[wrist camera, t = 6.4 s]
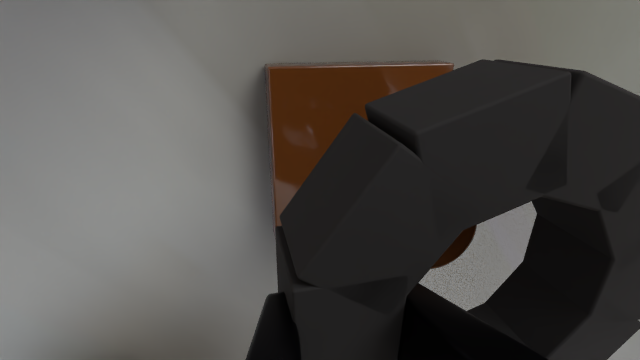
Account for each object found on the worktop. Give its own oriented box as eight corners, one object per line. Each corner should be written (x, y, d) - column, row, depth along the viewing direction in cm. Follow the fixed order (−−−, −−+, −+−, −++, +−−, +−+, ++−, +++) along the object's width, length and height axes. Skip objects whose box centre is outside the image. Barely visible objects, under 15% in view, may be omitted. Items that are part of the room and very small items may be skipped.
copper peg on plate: (273, 231, 18) (304, 363, 11) (264, 63, 14) (300, 100, 8) (418, 213, 19) (524, 316, 13) (439, 60, 16) (596, 88, 9)
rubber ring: (283, 409, 10) (297, 497, 8) (267, 61, 7) (286, 78, 5) (546, 346, 13) (605, 405, 11) (652, 57, 9) (778, 66, 7)
